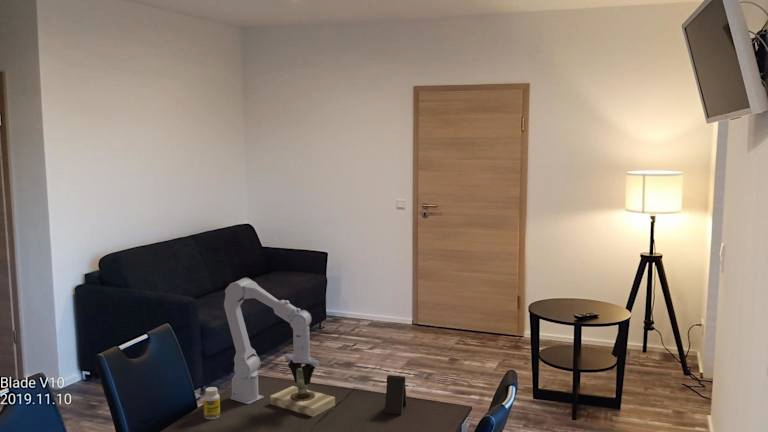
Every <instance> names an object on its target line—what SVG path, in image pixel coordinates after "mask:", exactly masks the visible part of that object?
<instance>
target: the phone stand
mask: <svg viewBox="0 0 768 432" xmlns="http://www.w3.org/2000/svg"><path fill="white" fill-rule="evenodd" d="M406 390H407V389H406V376H403V375H390V374H388V375H387V376H386V390H385V391H386V392H385V403H384V414H389V415H397V414H398V415H399V416H402V415H403V413H404V412H405V410H406V408H407V407H408V400H407V399H408V398H407V391H406ZM406 406H407V407H406ZM403 411H404V412H403Z"/></svg>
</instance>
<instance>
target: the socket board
mask: <svg viewBox="0 0 768 432" xmlns="http://www.w3.org/2000/svg"><path fill="white" fill-rule="evenodd" d="M269 397H270V398H269V399H270V401H269V402H270V405H272V406H276V407H279V408H282V409H285V410H289V411H293V412H296V413H299V414H303V415H306V416H310V417H313V418H314V417H315V416H317V415H319V414H321V413H323V412H325V411H327V410H329V409H331V408H333V407H335V406H336V397H335V396H332V395H329V394H325V393H321V392H319V391H318V392H317V391H314V390H309V389H307V392H306V393H298V387H297V386H296V385H295V386H294V385H291V386H289V387H288V388H285V389H283V390H280V391H279V392H276V393H273V394H271V395H270V396H269Z"/></svg>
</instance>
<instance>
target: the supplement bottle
mask: <svg viewBox="0 0 768 432" xmlns="http://www.w3.org/2000/svg"><path fill="white" fill-rule="evenodd" d="M204 390H205V395H204V396H203V417H204V418H205V419H207V420H215V419H218V418H219V417H221V399H220V398H221V397H220V396H221V395H220V394H218V392H219V391H218V388H217V387H216V386H209V387H206V388H205V389H204Z"/></svg>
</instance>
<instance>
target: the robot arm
mask: <svg viewBox="0 0 768 432" xmlns="http://www.w3.org/2000/svg"><path fill="white" fill-rule="evenodd" d="M224 293H225V295H224V296H225V297H224V302H223V308H224V310H225V314H226V315H225V316H226V317H227V318H226V320H227V322H228V326H229V330H230V334H231V337H232V341H233V345H234V348H235V355H234V358H233V362H234V366H233V371H234V375H233V376H232V379H231V396H230V398H229V399H231V400H232V401H233V400H234V401H236V402H239V403H242V404H247V405H250V404H253V403H254V402H257V401H260V400H262V399H263V398H264V397H265V396H264V395H261V394H259V368H260V367H261V364H262V362H261V359H260V357H259V356H258V354H257V352H256V350H255V349H254V348H253V347H252V346H251V342H250V339H249V335H248V334H249V333H248V332H247V327H246V323H245V321H244V320H245V319H244V316H243V312H242V308H241V305H242V304H243V302H244V301H245V300H248V299H256V300H257V301H259V302H261V303H263V304H264V305H266V306H267V307H270V308H272V309H273V312H274V315H277V316H278V317H279V318H281V319H283V320H284V321H286V322H287V323H289V324H290V325H289V326H290V328H292V332H293V333H292V334H293V335H292V337H293V339H292V340H293V346H292V347H293V353H287V354H286V353H285V354H284V361H290V362H289V363H288V364H287V366H288V367H289V370H290V371H291V373H292V377H293V381H294V383H296V384H297V373H296V370H297V369H299V368H302V371H303V375H304V384H305V385H308V386H309V384H311V379H312V376H313V373H314V371H315V369H316V368H318V367H320V360H318V359H315V358H313V357H312V356H311V351H310V349H311V348H310V346H311V345H310V341H311V340H310V333H311V332H310V324H311V323H312V315H311V313H310V312H309V311H308V310H305V309H301V308H299V307H296V306H294V305H293V304H291V303H290V301H289V300H287V299H286V300H285V299H281V300H280V299H277V298H276V297H275V296H273V295H272V294H271V293H269V292H267V290H265V289H263V288H262V287H261V286H260V285H258V283H257V282H256V281H254V280H252V279H250V278H249V277H243V278H241V279H239V280H236V281H235V282H231V283H229V285H228V286H227V287H226V288H225V290H224Z"/></svg>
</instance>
